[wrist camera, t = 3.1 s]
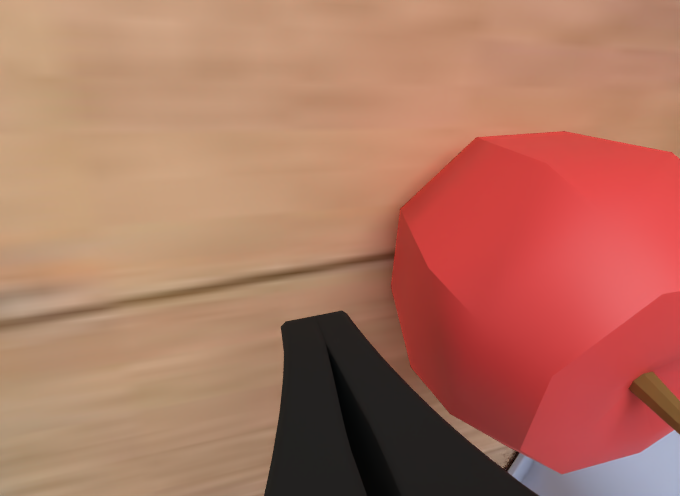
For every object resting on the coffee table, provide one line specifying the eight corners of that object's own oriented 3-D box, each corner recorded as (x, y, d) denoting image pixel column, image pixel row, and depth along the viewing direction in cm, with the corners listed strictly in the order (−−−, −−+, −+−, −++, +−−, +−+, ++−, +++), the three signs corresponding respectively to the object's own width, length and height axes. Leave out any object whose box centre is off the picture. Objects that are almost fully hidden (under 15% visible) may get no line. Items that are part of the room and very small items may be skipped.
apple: (441, 42, 11) (805, 189, 4) (639, 144, 14) (1004, 310, 8) (316, 297, 14) (417, 590, 8) (500, 330, 18) (675, 552, 11)
